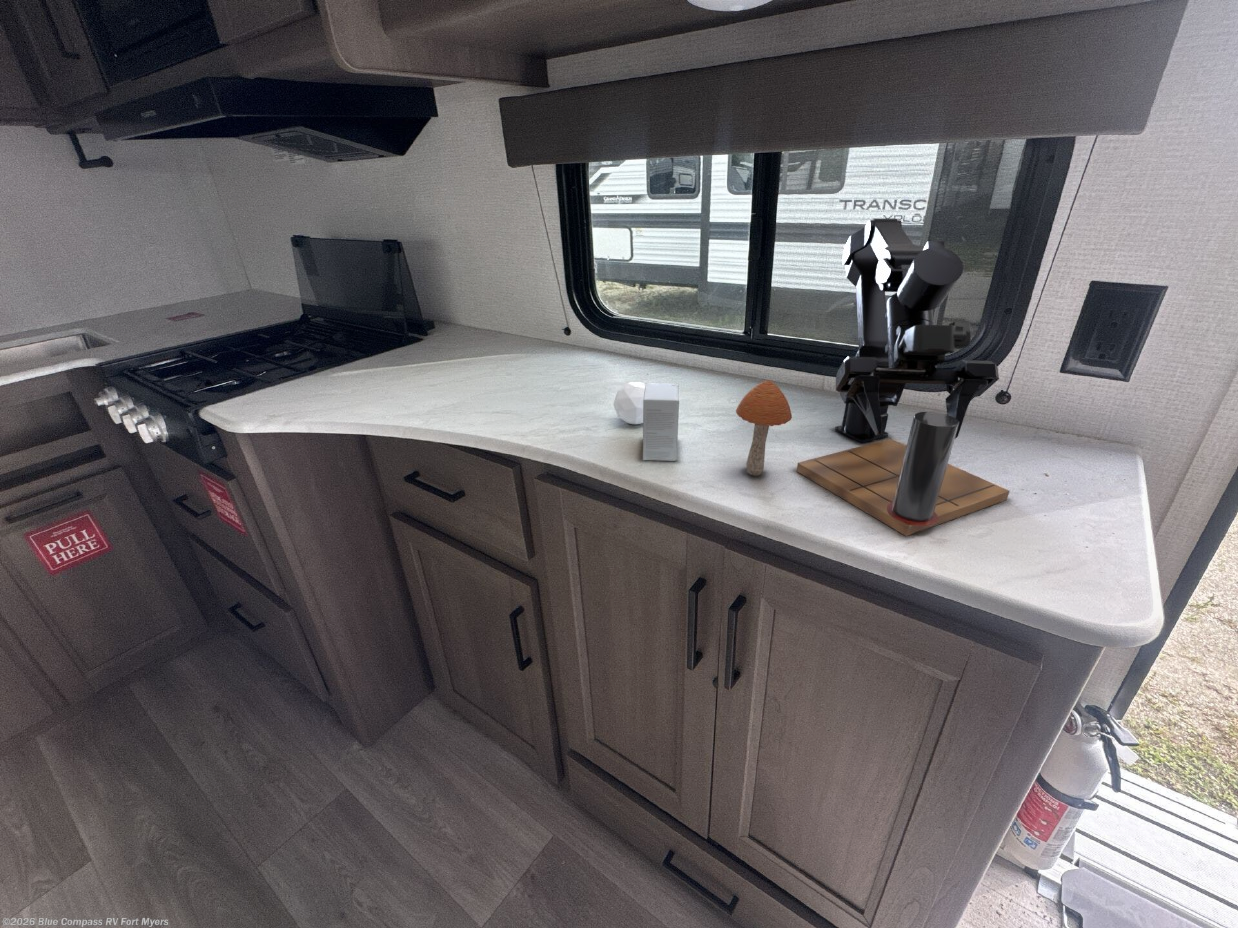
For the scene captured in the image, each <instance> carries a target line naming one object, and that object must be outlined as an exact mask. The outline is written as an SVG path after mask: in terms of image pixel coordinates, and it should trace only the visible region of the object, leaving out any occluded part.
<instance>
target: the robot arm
mask: <svg viewBox="0 0 1238 928" xmlns="http://www.w3.org/2000/svg"><path fill="white" fill-rule="evenodd" d="M902 227H903V225H902V220H901V219H897V218H896V217H895V218H872V219H868V221H867V222H866V225H865V226H864V227H862V228H860V229H859V230H857V231H856V232H854V233H852V234H851V235H850V236H849V237H848V239H847V242H846V243H845V245H844V248H843V252H842V262H841V263H842V266H844V268H845V269H844V270H845V277H846V279H847V280H848V281H849V282H850V284H852V285H853V286H854V287H855V289H856V290H855V291H856V292H855V293H856V315H857V317H856V318H857V343H858V351H857V352H856V353H855V356H854V355H853V356H852V355H851V356H850V355H848V356H847V357H846V358H845V359H844V360H843V362H842V363H841V364H840V366H839V369H838V371H837V373H836V375H835V391H837V392H838V393H839V396H840V398H841V399H842V402H843V403H844V404H845V406H844V411H843V417H842V423H841V425H838V426H835V427H834V431H835V432H838V433H840V434H842V435H844V436H846V437H849V438H850V439H853V440H854V441H857V442H859V443H867V442H868V443H869V442H871V441H875V440H879V439H882V438H886V437H889V432H887V431H886V428H887V423H888V419H889V413H888V409H889V406H893V407H897V406H898V404H899V402H900V400H901V398H902V395H903V392H904V389H905V387H906V384H920V385H923V384H924V385H943V386H946V392H947V394H948V396H947V397H946V398H945V409H946V414H947V415H950V416H952V417H954V418H956V419H957V420H958V421H959V425H958V429H957V432H956V436H955V439H954V440H956V439H957V438H958V437H959V435H960V431H961V428H962V425H963V422H964V419H965V416H966V413H967V410H968V408H969V405H970V403H971V401H972V400H974V399H975V398H978V397H980V396H982V395H983V394H984V393H985V392H987V391H988V390H989V388H991V387H992V386H994V384H996V383H997V382H998V381H999V380H1000V375H999V374H1000V373H999V367H998V366H997V365H996V363H994V362H993V361H991V360H973V359H972V360H971V359H963V360H961V362H960V363H959V364H958V365H957V366H956V367H955V368H954V369H938V365H943V363H944V362H945V361H946V354H949V353H950V354H953V353H955V349H956V350H962V349H964V348H967V347H969V345H971V342H972V341H971V340H972V328H971V323H970V320H954V321H953V322H950V323H949V324H934V323H935V322H934V310H935V309H936V308H939V307H940V306H942V304H943V303H944V301H945V299H946V298H947V296H948V295H949V294H950V292H951V291H952V290H953V288H954V286H955V285H956V283H957V282H958V281H959V280H960V278H961V277H962V275H963V273H964V268H965V265H964V262H963V261H962V259H961V258H960V257H959V255H958V254H957V253H956V252H954V251H953V250H950V249H948V248H946V247H945V241H942V240H934V241H933V240H932V241H931V240H928V241H926V243H925V245H924V246H922V245H916V244H914V243H913V241H911V239H910V237H909V235H907V233H906V232H905V230H904V229H903V228H902ZM886 293H893V294H892V295H891V296H890V297H889V298H888V299H887V298H886ZM886 299H887V301H886Z"/></svg>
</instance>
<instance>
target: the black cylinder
mask: <svg viewBox="0 0 1238 928" xmlns="http://www.w3.org/2000/svg"><path fill="white" fill-rule="evenodd" d="M958 425H959V421H958V420H957V419H956V418H954V417H952V416H950V415H947V413H942V412H937V411H919V412H916V413H914V415H913V419H912V422H911V427H910V430H909V434H908V438H907V443H906V445H907V447H906V451H905V455H904V459H903V463H902V468H901V472H900V476H899V480H898V484H897V488H896V493H895V497H894V501H893V505H892V510H893V512H894V513H895V514H896V515H898V516H899V517H901V518H903V519H906V520H910V521H915V522H926V521H929V520H931V519H932V518H933V514H934V511H935V507H936V503H937V500H938V496H939V493H940V489H941V486H942V482H943V479H944V475H945V471H946V468H947V464H949V461H950V457H951V454H952V449H953V446H954V444H955V440H956V439H955V436H956V432H957V429H958Z"/></svg>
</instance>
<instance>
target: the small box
mask: <svg viewBox="0 0 1238 928" xmlns="http://www.w3.org/2000/svg"><path fill="white" fill-rule="evenodd" d="M644 385H645V392H644V400H643V423H642V460H643V461H662V462H676V461H677V459H678V458H677V457H678V440H679V439H678V438H679V437H678V436H679V418H680V416H679V415H680V384H679V383H662V382H661V383H659V382H658V383H657V382H656V383H654V382H646V383H645V384H644Z"/></svg>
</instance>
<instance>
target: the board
mask: <svg viewBox="0 0 1238 928" xmlns="http://www.w3.org/2000/svg"><path fill="white" fill-rule="evenodd" d="M906 447H907V444H904V443H901V442H900V441H897V440H896V439H893V438H888V439H883V440H879V441H875V442H872V443H868V444H864V445H861V446H857V447H853V448H848V449H845V450H841V451H837V452H834V453H829V454H825V455H822V456H818V457H815V458H811V459H807V460H803V461H798V462H797V465H796V472H797V473H798V474H800V475H802V476H804V477H806V478H807V479H808V480H810V481H812V482H813V483H815V484H817V485H819V486H820V487H822V488H823V489H825V490H827V491H829V492H830V493H832V494H834V495H836V496H837V497H839V498H841V499H842V500H844V501H846V502H848V503H849V504H851V505H852V506H854V507H856V508H857V509H859V510H861V511H863V512H864V513H866V514H868V515H869V516H871V517H873V518H874V519H877V520H878V521H879V522H881V523H882V524H884V525H886V526H888V527H890V528H891V529H892V530H894V531H896V532H898V533H900V534H902V535H903V536H905V537H909V536H910V535H913V534H916V533H920V532H922V531H925V530H928V529H931V528H933V527H935V526H938V525H941V524H944V523H947V522H950V521H952V520H955V519H958V518H961V517H963V516H967V515H970V514H971V513H974V512H977V511H980V510H983V509H985V508H986V509H987V508H989V507H991V506H993V505H996V504H997V505H998V504H1000V503H1002V502H1005V501H1007V500H1008V498H1009V494H1010V492H1011V491H1010V490H1009V489H1006V488H1004V487H1002V486H1000V485H997V484H995V483H993V482H991V481H989V480H986V479H984V478H982V477H980V476H977V475H974V474H973V473H970V472H968V471H966V470H963V469H961V468H959V467H956V466H954V465H952V464H949V463H948V464H947V468H946V471H945V475H944V479H943V482H942V486H941V489H940V493H939V496H938V500H937V503H936V507H935V511H934V514H933V518H932V519H931V520H929V521H926V522H915V521H910V520H906V519H903V518H901V517H899V516H898V515H896V514H895V513H894V512H893V510H892V505H893V501H894V497H895V493H896V488H897V484H898V480H899V476H900V472H901V468H902V463H903V459H904V455H905V451H906Z"/></svg>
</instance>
